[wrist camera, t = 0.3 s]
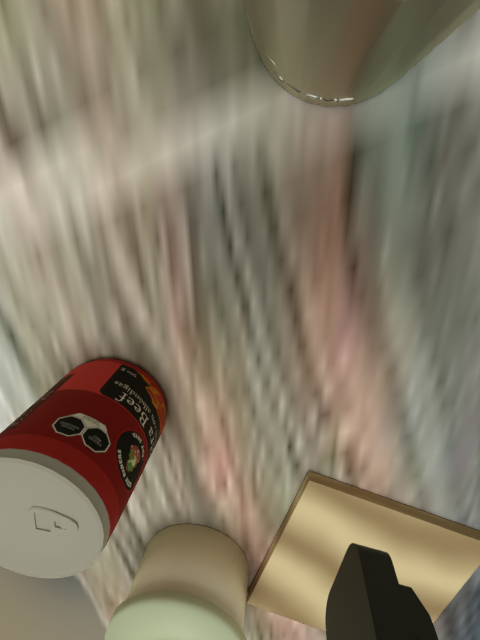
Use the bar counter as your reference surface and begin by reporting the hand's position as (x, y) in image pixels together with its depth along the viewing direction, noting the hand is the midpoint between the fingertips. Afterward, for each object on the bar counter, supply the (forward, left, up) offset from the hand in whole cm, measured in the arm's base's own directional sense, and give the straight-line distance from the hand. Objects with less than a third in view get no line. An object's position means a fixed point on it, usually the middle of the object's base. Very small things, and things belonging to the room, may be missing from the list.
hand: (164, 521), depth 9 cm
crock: (+24, +4, -18) cm, 30 cm away
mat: (+18, +16, -18) cm, 30 cm away
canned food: (+11, -6, -18) cm, 22 cm away
